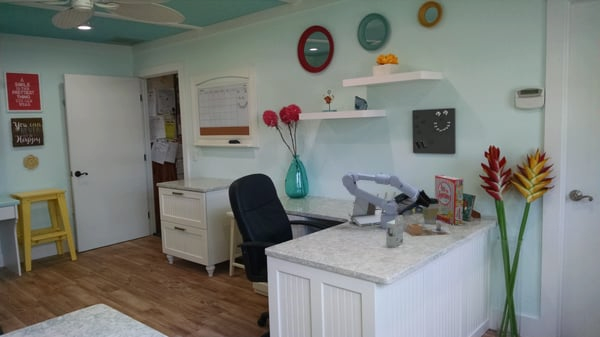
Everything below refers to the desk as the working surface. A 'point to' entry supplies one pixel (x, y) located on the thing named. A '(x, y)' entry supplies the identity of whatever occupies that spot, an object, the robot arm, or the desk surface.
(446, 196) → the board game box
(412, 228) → the collar
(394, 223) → the ink box
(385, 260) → the desk surface
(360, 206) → the architectural model
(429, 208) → the coffee cup
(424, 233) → the hub board
